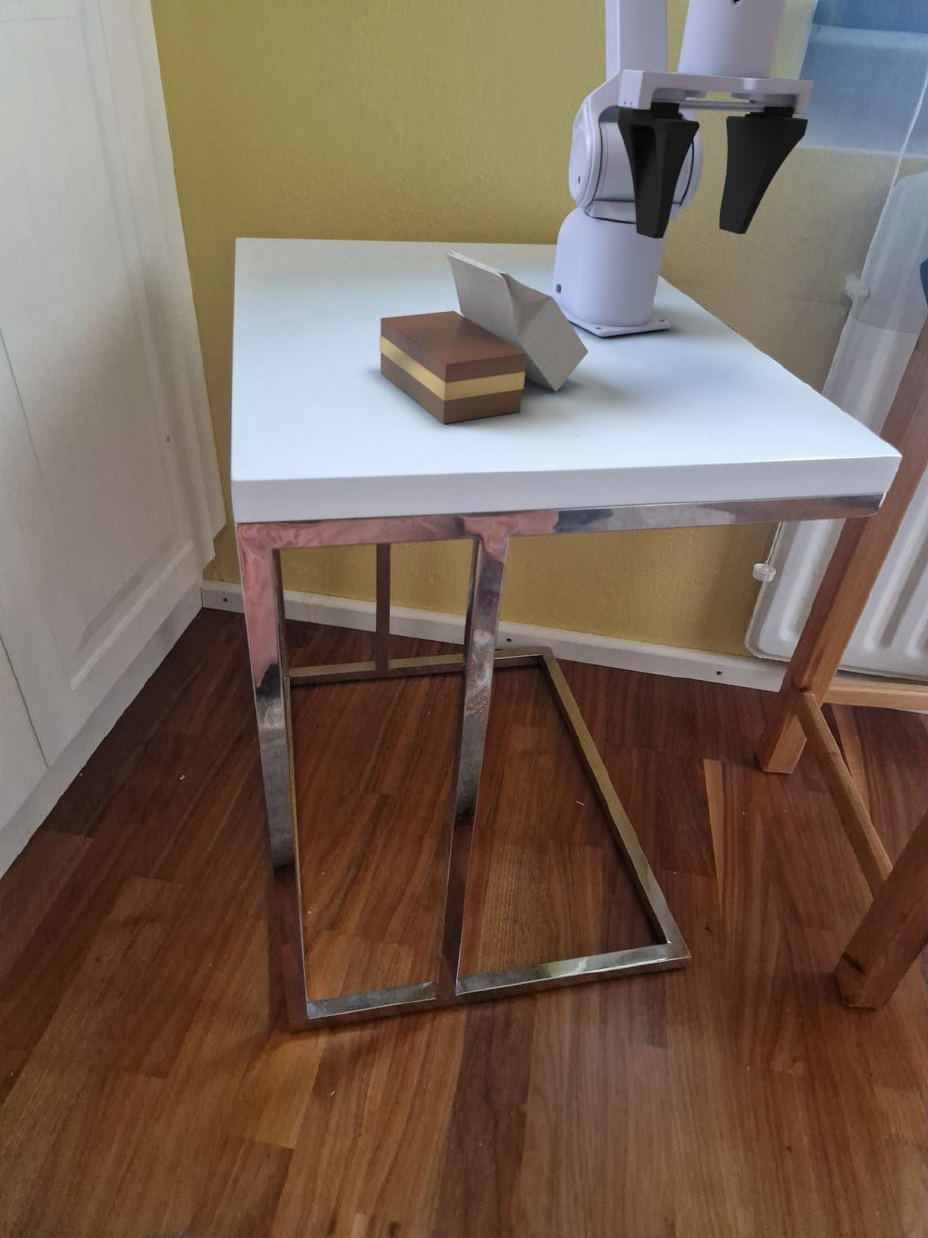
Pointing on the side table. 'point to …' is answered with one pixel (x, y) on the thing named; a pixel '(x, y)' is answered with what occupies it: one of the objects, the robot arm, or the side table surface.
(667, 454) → the side table surface
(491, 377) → the snack box
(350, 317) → the side table surface
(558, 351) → the white milk carton
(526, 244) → the side table surface
